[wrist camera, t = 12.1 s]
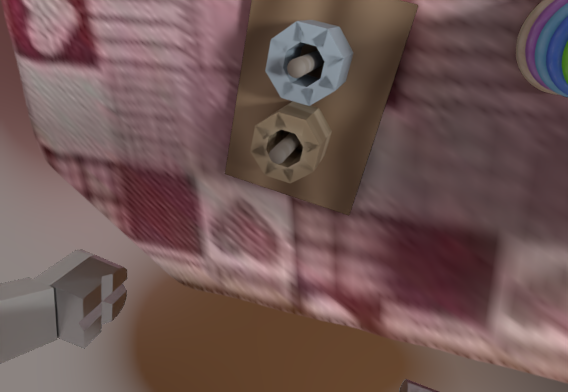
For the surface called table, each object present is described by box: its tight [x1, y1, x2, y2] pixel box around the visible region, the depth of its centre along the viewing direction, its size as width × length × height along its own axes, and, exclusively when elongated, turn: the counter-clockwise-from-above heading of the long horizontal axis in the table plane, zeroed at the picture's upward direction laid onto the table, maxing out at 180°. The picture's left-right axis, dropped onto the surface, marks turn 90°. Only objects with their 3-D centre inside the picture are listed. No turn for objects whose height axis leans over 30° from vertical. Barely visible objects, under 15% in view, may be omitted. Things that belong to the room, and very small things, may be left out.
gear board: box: [225, 0, 418, 215], centre depth 36 cm, size 14×20×8 cm
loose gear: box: [265, 20, 353, 106], centre depth 34 cm, size 6×6×5 cm
